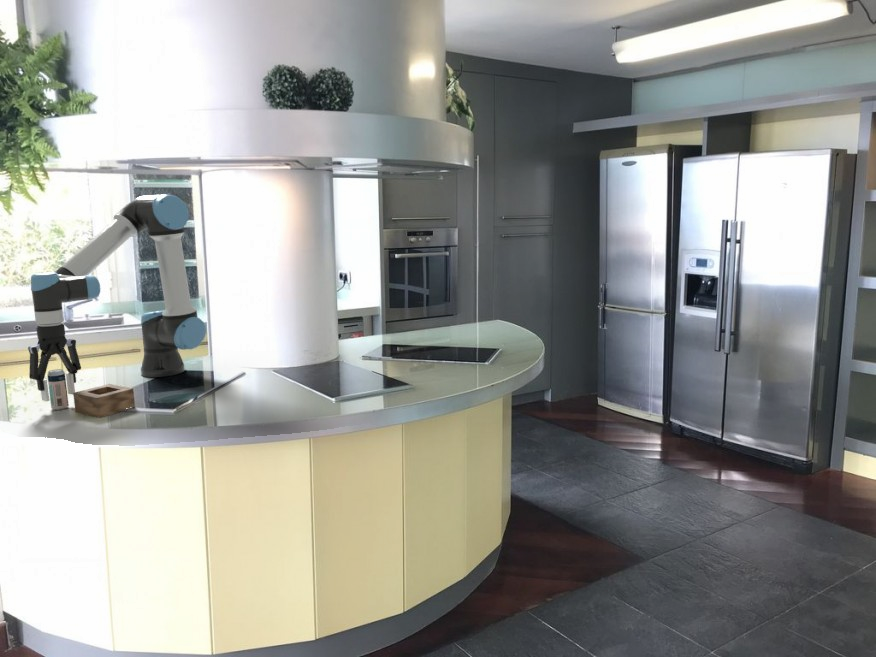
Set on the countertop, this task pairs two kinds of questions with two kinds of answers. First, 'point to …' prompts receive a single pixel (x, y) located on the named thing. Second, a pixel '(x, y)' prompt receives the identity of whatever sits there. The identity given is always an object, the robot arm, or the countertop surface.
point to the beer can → (57, 389)
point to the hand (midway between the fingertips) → (58, 397)
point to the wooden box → (103, 400)
